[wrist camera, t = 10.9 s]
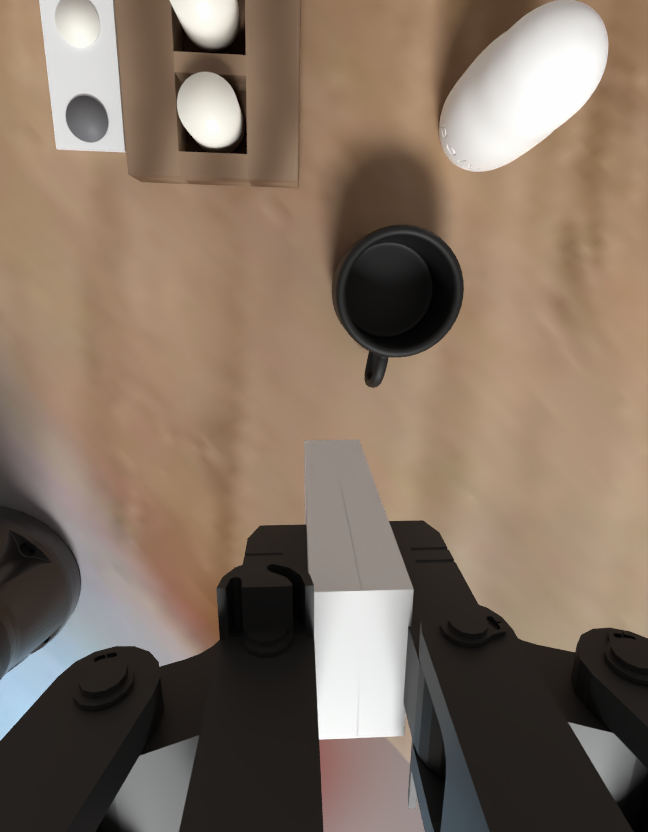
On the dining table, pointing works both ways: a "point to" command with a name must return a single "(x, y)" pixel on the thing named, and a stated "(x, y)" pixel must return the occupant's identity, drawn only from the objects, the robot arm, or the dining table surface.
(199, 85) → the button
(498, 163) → the figurine
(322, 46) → the dining table surface
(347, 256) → the mug
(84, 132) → the card
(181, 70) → the board
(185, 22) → the button middle
